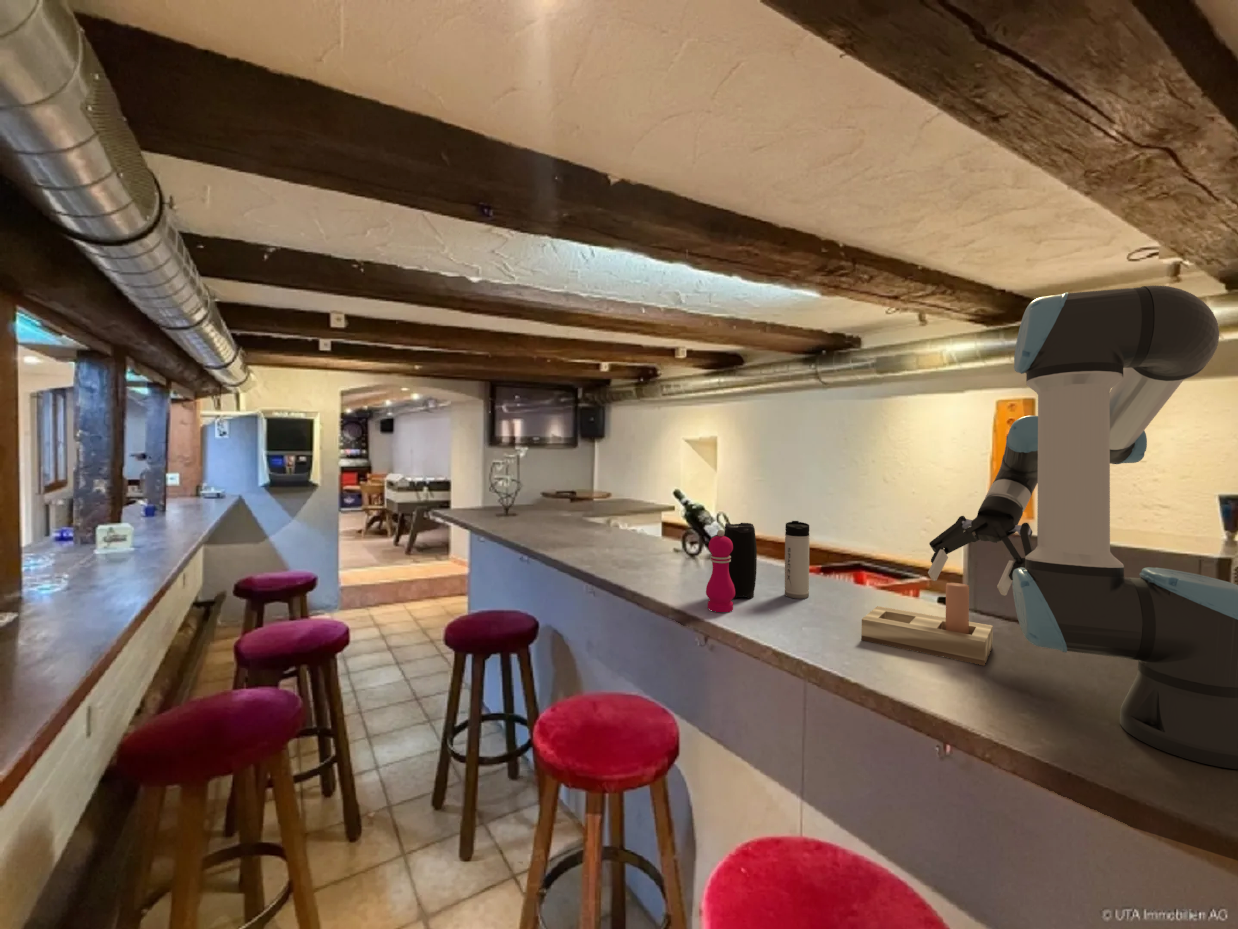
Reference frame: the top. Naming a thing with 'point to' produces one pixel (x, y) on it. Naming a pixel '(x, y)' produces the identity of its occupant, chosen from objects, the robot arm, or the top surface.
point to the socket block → (927, 635)
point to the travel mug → (797, 560)
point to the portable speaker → (742, 558)
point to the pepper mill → (720, 575)
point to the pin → (957, 607)
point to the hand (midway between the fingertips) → (964, 583)
